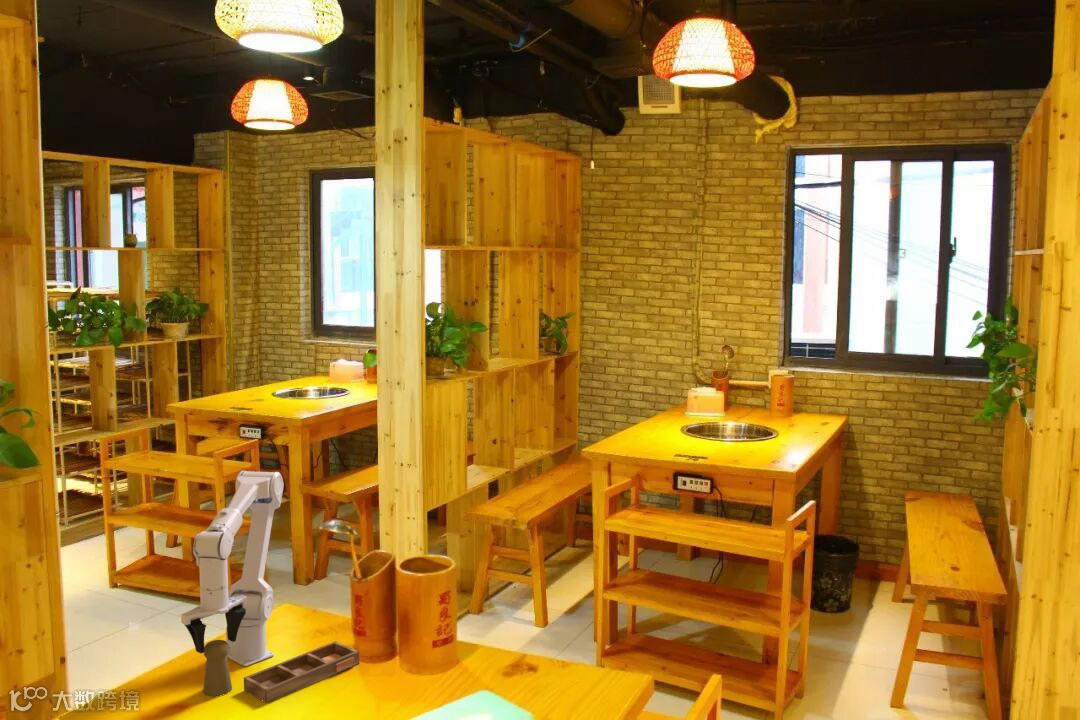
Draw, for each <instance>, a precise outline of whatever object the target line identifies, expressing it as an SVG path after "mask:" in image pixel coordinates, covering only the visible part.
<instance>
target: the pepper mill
mask: <svg viewBox="0 0 1080 720" xmlns="http://www.w3.org/2000/svg"><path fill="white" fill-rule="evenodd" d="M228 652H229V645H228V643H227V642H226V640H223V639H214V640H209V642H207V643H206V644H204V653H203V655H204V657H205V659H206V660H205V661H206V662H205V672H204V681H203V689H202V694H203V695H204V696H206V697H209V698H215V697H216V696H218V697H221V696H220V695H222V696H224V695H223V694H225V695H227V694H226V693H228V692H229V693H231V691H232V690H233V685H232V680H231V673H230V668H229V661H228V658H227V654H228ZM229 693H228V694H229Z"/></svg>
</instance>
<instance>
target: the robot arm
mask: <svg viewBox="0 0 1080 720" xmlns="http://www.w3.org/2000/svg"><path fill="white" fill-rule="evenodd" d="M234 485H235V493H234V494H233V497H232V499H231V501H230V502H229V504H228V506H227V507H224V508H222V509H220V510H219V511H218V512H217V514H216V516H215V517H214V518H213V520H212V522H211V523H210V525H208V527H207V528H206V530H203V531H201V532H200V533H198V534H197V535H196V536H195V538H194V542H193V547H192V552H193V553H192V554H193V557H195V560H196V561H195V562H196V566H197V567H198V568H199V571H198V572H199V592H200V593H199V594H200V596H199V599H200V605H198V606H196V607H194V608H192V609H190V610H188V611H186V612H184V613H181V614H180V616H181V617H180V618H181V620H180V622H181V624H183V625H184V626H185V628H186V629H187V630H188V633H189V635H190V637H191V639H192V642H193V645H194V648H195V651H196V652H197V653H199V654H204V647H205V632H206V628H207V625H206V624H205V623H203V621H202V619H205V618H208V617H211V616H215V615H218V614H220V615H222V614H223V615H225V621H226V629H225V636H226V637H225V638H226V640H225V641H226V642H227V643H228V645H229V652H228V654H227V659H230V660H231V661H233V662H235V663H238V664H239V665H241V666H243V667H249V666H250V665H254V664H256V663H259V662H261V661H264V660H266V659H268V658H271V657H274V655H275V653H274V652H272V651H270V650H268V649H267V632H266V631H267V629H266V626H267V625H266V621H268V620H269V619H270V617H271V616H272V613H273V610H274V590H273V588H272V587H271V585H269V584H268V583H267V581H266V580H264V577H265V572H266V571H265V570H266V564H267V558H268V551H269V545H270V540H271V531H272V526H273V519H274V513H275V510H277V509H279V508H280V507H281V503H282V498H283V492H284V485H285V483H284V478H283V476H282V474H281V473H280V472H279V471H272V472H271V471H247V470H241V471H240V472H239V473H238V474H237V476H236V479H235V484H234ZM248 509H250V510H251V518H250V525H249V531H248V538H247V544H246V549H245V557H244V562H243V568H242V574H241V577H240V579H239V580H237V581H236V582H234V583H232V584H231V585H230V588H229V572H228V569H229V568H228V567H229V566H228V557H229V556H230V554H231V553H232V549H233V544H234V541H235V539H234V537H235V536H236V535H237V533H238V531H239V530H240V529H241V526H242V525H243V522H244V520H243V519H244V518H243V515H244V514H245V512H247V510H248Z"/></svg>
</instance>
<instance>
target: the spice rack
mask: <svg viewBox="0 0 1080 720" xmlns="http://www.w3.org/2000/svg"><path fill="white" fill-rule="evenodd" d="M358 663H359V664H360V651H358V650H357V649H355V648H353V647H350V646H347V645H346V644H343V643H341V642H339V641H333V642H330V643H328V644H325V645H321V646H320V647H318V648H315V649H312V650H310V651H307V652H305V653H302V654H299V655H298V656H295V657H291V658H290V659H286V660H284V661H282V662H280V663H277V664H275V665H272V666H270V667H267V668H263V669H262V670H259V671H257V672H255V673H252V674H250V675H247V676H245V677H243V691H244V692H246V693H247V692H248V693H247V694H249V693H250V694H249V695H251V694H252V695H251V696H253V697H255V698H256V699H258V698H259V699H258V700H260V701H262V700H263V701H262V702H264V701H265V702H264V703H266V704H267V703H268V704H270V703H271V702H272V703H273V702H274V700H275V701H277V700H279V699H281V698H283V697H286V696H288V695H290V694H293V693H295V692H298V691H300V690H302V689H304V687H305V688H306V686H307V687H309V686H311V684H312V685H313V684H316V683H318V682H321V681H323V680H325V679H327V678H329V677H332V676H335V675H337V674H339V673H341V671H342V672H344V671H346V670H348V669H347V668H349V667H351V666H353V667H355V666H357V665H356V664H358ZM359 664H358V665H359ZM354 665H355V666H354ZM351 668H352V667H351ZM345 669H346V670H345ZM349 669H350V668H349ZM343 670H344V671H343ZM338 672H339V673H338ZM334 674H335V675H334ZM322 679H323V680H322ZM320 680H321V681H320ZM269 702H270V703H269Z"/></svg>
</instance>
